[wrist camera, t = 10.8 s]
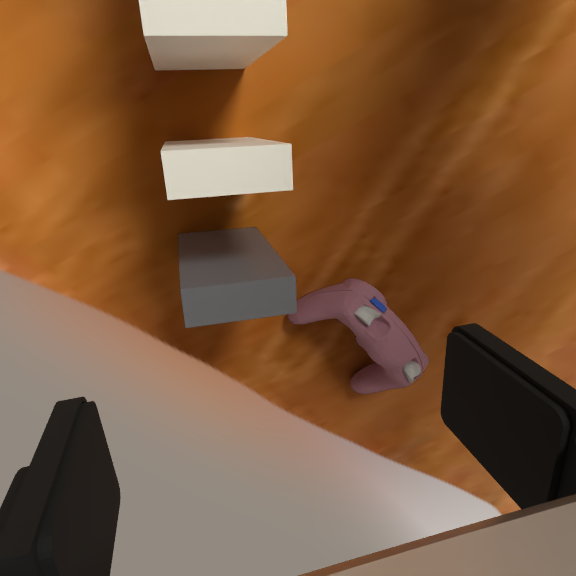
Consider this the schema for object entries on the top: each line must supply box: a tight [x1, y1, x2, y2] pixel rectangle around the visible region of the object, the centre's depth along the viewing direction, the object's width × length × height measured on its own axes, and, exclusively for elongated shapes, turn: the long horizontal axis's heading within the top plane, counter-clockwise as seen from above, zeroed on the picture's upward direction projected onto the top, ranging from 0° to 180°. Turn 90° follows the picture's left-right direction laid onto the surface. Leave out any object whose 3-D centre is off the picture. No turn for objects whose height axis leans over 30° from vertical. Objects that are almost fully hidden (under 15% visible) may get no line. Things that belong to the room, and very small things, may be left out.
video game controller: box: [288, 278, 429, 394], centre depth 30 cm, size 10×5×7 cm, turn 38°
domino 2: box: [161, 137, 293, 200], centre depth 21 cm, size 2×5×10 cm, turn 92°
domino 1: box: [139, 0, 287, 70], centre depth 19 cm, size 2×5×10 cm, turn 92°
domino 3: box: [178, 227, 297, 328], centre depth 23 cm, size 2×5×10 cm, turn 92°
